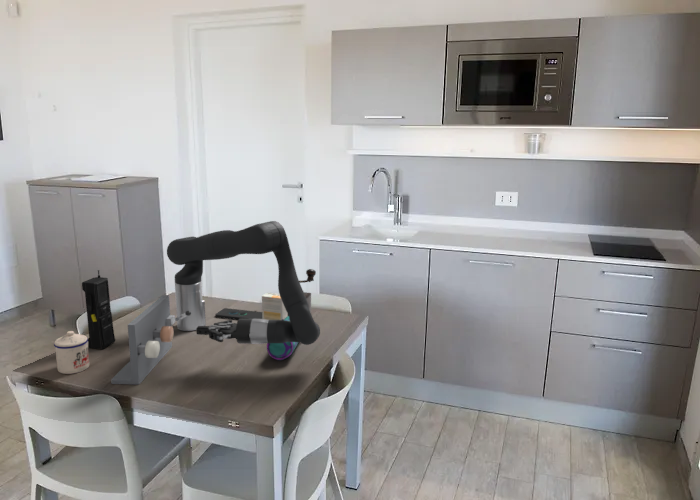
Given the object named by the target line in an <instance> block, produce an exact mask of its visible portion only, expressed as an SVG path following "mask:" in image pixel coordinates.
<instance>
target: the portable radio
mask: <svg viewBox="0 0 700 500" xmlns="http://www.w3.org/2000/svg"><path fill="white" fill-rule="evenodd" d="M81 287H82V288H81V289H82V291H83V292H84V298H85V308H86V316H87V318H86V319H87V327H88V337H87V338H88V348H89V349H98V350H104V349H105V348H107V347H109V346H111V345H112V344H114V343H115V342H116V338H115V330H114V329H115V328H114V324H113V323H114V322H113V313H112V310H111V299H110V289H109V279H108V277H103V276H102V277H101V275H100V270H97V277H92V278H89V279H87V280H84V281H82V282H81Z"/></svg>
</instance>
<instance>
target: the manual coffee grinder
mask: <svg viewBox="0 0 700 500" xmlns="http://www.w3.org/2000/svg"><path fill="white" fill-rule="evenodd" d="M305 274H306V275H307V279H306V280H299V282H300V284H301V283H311V282H314V277H315V276H316V274H317V273H316V270H315V269H313V268H308V269H307V270H306V271H305ZM303 292H304V294H305V297H306V299H307V302H308V305H309V310H310V313H311V314H312V293H311V292H305V291H304V290H303ZM288 316H289V315H288Z"/></svg>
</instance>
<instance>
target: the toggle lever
mask: <svg viewBox="0 0 700 500" xmlns="http://www.w3.org/2000/svg"><path fill="white" fill-rule="evenodd" d="M190 315H191V311H189V310H188V311H186V312H185V313H184V314H182V315H180V316H178V317H177V316H175V322H177V321H179V320H180V319H182V318H184V317H186V316H190Z"/></svg>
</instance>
